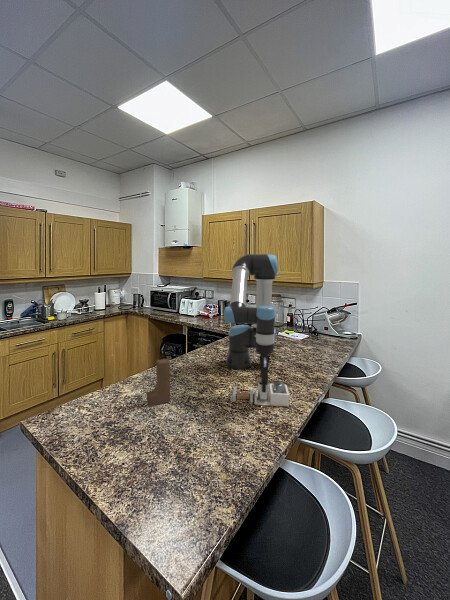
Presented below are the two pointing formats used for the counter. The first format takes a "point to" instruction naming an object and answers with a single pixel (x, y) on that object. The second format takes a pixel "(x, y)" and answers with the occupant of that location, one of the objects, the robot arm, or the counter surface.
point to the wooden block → (161, 384)
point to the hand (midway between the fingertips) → (263, 395)
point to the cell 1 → (259, 392)
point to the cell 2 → (279, 387)
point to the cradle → (250, 394)
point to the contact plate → (242, 395)
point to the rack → (274, 397)
